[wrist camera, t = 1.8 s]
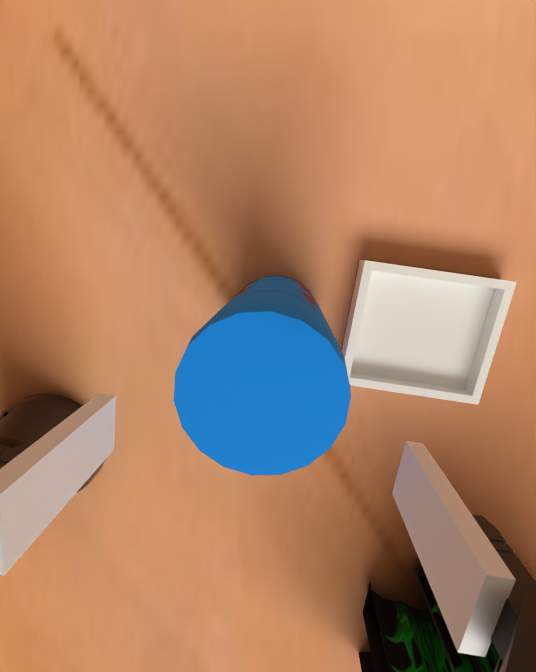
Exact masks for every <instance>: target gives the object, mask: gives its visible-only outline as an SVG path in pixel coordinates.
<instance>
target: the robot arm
mask: <svg viewBox="0 0 536 672" xmlns="http://www.w3.org/2000/svg"><path fill="white" fill-rule="evenodd" d="M115 417H116V395H110V394H104V393H99V394H97V395H96V396H95V397H94V398H92V399H91V400H90V401H88V402H87V403H86V404H84V405H83V406H80V405H79V404H77V403H76V402H74V401H72V400H70V399H67V398H65V397H62V396H58V395H52V394H39V395H34V396H30V397H27V398H25V399H23V400H21V401H20V402H18V403H16V404H14V405H13V406H11V407H10V408H8V409H7V410H6V411H5V412H3V413H2V415H1V416H0V575H5V574H6V573H7V572H8V571H9V570H10V568H11V567H12V566H13V565H14V564H15V563H16V562H17V560H18V559H19V558H20V557H21V556H22V555H23V553H24V552H25V551H26V550H27V549H28V548H29V547H30V545H31V544H32V543H33V542H34V541H35V540H36V539H37V537H38V536H39V535H40V534H41V533H42V532H43V531H44V529H45V528H46V527H47V526H48V525H49V524H50V522H51V521H52V520H53V519H54V518H55V517H56V516H57V514H58V513H59V512H60V511H61V510H62V509H63V508H64V506H65V505H66V504H67V503H68V502H69V501H70V499H71V498H72V497H73V496H74V495H75V494H76V493H77V492H79V491H80V490H82V489H83V488H84V487H85V486H87V485H88V484H89V483H90V482H91V480H92V479H93V478H94V477H95V476H96V475H97V473H98V472H99V471H100V469H101V467H102V465H103V463H104V460H105V459H106V458H107V457H108V456H109V455H110V454H111V452H112V451H113V450H114V447H115ZM392 494H393V497H394V499H395V502H396V504H397V507H398V509H399V511H400V514H401V516H402V519H403V521H404V523H405V526H406V528H407V531H408V533H409V536H410V538H411V540H412V543H413V545H414V548H415V550H416V553H417V555H418V557H419V560H420V562H421V565H422V567H423V569H424V572H425V574H426V577H427V579H428V582H429V584H430V586H431V589H432V591H433V594H434V596H435V599H436V601H437V603H438V606H439V608H440V611H441V613H442V615H443V618H444V620H445V623H446V625H447V628H448V630H449V632H450V635H451V637H452V640H453V642H454V645H455V647H456V649H457V652H458V653H464V654H470V655H476V656H482V657H485V656H486V654H487V651H488V649H489V646H490V644H491V641H492V642H493V644H494V646H495V648H496V650H497V652H498V654H499V656H500V658H499V660H498V663H497V665H496V668H495V670H494V672H536V582H535V581H534V579H533V578H532V577H531V575H530V574H529V573H528V571H527V570H526V568H525V567H524V566H523V564H522V563H521V562H520V560H519V559H518V557H517V556H516V555H514V554H513V551H512V549H511V548H510V547H509V545H508V544H506V541H505V540H504V538H503V537H502V536H501V534H500V533H499V532H498V530H497V529H496V528H495V527H494V526H493V525H492V524H491V523H489V522H488V521H487V520H486V519H485V518H484V517H482V516H478V515H472V514H471V513H470V511H469V510H468V508H467V507H466V505H465V504H464V503H463V501H462V500H461V498H460V497H459V495H458V494H457V492H456V491H455V489H454V488H453V486H452V485H451V483H450V482H449V480H448V479H447V477H446V476H445V474H444V473H443V472H442V470H441V469H440V467H439V466H438V464H437V463H436V461H435V460H434V458H433V457H432V455H431V454H430V452H429V451H428V449H427V448H426V446H425V445H424V443H419V442H412V441H406V443H405V446H404V450H403V454H402V458H401V461H400V465H399V469H398V473H397V476H396V480H395V484H394V488H393V492H392Z"/></svg>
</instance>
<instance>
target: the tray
mask: <svg viewBox="0 0 536 672" xmlns="http://www.w3.org/2000/svg"><path fill="white" fill-rule="evenodd" d="M516 283H517V282H513V281H507V280H500V279H493V278H486V277H479V276H472V275H465V274H458V273H451V272H444V271H437V270H430V269H423V268H416V267H409V266H402V265H395V264H388V263H381V262H374V261H368V260H361V259H360V261H359V266H358V271H357V276H356V281H355V286H354V291H353V296H352V301H351V306H350V311H349V316H348V321H347V326H346V331H345V336H344V341H343V346H342V353H343V355H344V358H345V363H346V368H347V373H348V379H349V384H350V385H352V386H358V387H365V388H371V389H378V390H385V391H391V392H398V393H404V394H411V395H418V396H424V397H431V398H438V399H444V400H451V401H457V402H464V403H471V404H477V405H478V404H479V401H480V398H481V395H482V391H483V388H484V385H485V382H486V379H487V376H488V372H489V369H490V366H491V363H492V360H493V356H494V353H495V350H496V347H497V344H498V340H499V337H500V334H501V331H502V328H503V324H504V321H505V318H506V315H507V312H508V308H509V305H510V302H511V299H512V296H513V292H514V289H515V286H516Z"/></svg>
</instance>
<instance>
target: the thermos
mask: <svg viewBox="0 0 536 672" xmlns="http://www.w3.org/2000/svg"><path fill="white" fill-rule="evenodd" d="M350 398H351V392H350V384H349V379H348V373H347V368H346V363H345V358H344V355H343V353H342V351H341V349H340V347H339V345H338V343H337V341H336V339H335V337H334V335H333V333H332V331H331V329H330V327H329V325H328V323H327V321H326V319H325V317H324V315H323V313H322V311H321V309H320V307H319V306H318V304H317V302H316V301H315V299H314V298H313V296H312V294H311V293H310V291H309V290H307V289H306V288H305V287H303V286H302V285H301V284H300V283H298V282H297V281H296V280H293V279H290V278H287V277H284V276H267V277H264V278H261V279H259V280H257V281H254V282H252V283H250V284H248V285H247V286H246V287H245V288H244V289H243V290H242V291H241V292H239V293H238V294H237V295H236V296H235V297H234V298H233V299H232V300H231V301H230V302H229V303H228V304H226V305H225V306H224V307H223V308H222V309H221V310H220V311H219V312H218V313H217V314H216V315H215V316H213V317H212V318H211V319H210V320H209V321H208V322H207V323H206V324H205V325H204V326H203V327H202V328H201V329H200V330H199V331H198V332H197V333H196V334H195V335H194V336H193V337H192V339H191V341H190V343H189V345H188V347H187V349H186V351H185V353H184V355H183V357H182V360H181V362H180V364H179V366H178V368H177V370H176V373H175V391H174V403H175V406H176V409H177V412H178V415H179V418H180V421H181V425H182V428H183V429H184V430H185V432H186V433H187V434H188V436H189V437H190V438H191V440H192V441H193V442H194V443H195V445H196V446H197V447H198V449H199V450H200V451H201V452H203V453H204V454H206V455H207V456H209V457H210V458H212V459H213V460H215V461H216V462H217V463H219V464H220V465H222V466H223V467H226V468H230V469H233V470H236V471H240V472H243V473H246V474H250V475H281V474H284V473H287V472H290V471H293V470H296V469H299V468H302V467H304V466H307V465H309V464H310V463H312V462H313V461H314V460H315V459H317V458H318V457H319V456H321V455H322V454H323V453H324V452H326V451H327V450H328V449H330V448H331V446H332V445H333V443H334V441H335V440H336V438H337V437H338V435H339V433H340V432H341V430H342V429H343V427H344V425H345V424H346V418H347V413H348V408H349V403H350Z"/></svg>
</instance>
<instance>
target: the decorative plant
mask: <svg viewBox="0 0 536 672" xmlns="http://www.w3.org/2000/svg"><path fill="white" fill-rule="evenodd" d="M420 567H421V562H420V564H419V565H418V566H417V568H416V569H415V570H414V573H415V575H416V578H417V580H418V583H419V586H420V588H421V591H422V593H423V596H424V599H425V601H426V604H427V606H428V609H429V611H422V610H416V609H415V608H413V607H411V606H410V605H408V604H407V603H405V602H403V601H402V600H399V601H393V600H388V599H384V598H383V597H381V596H380V595H378V594H377V593H376V592H374V591H373V590H372V589H371V584H370V583H369V588H368V592H367V596H366V600H365V605H364V609H363V616H364V621H365V626H366V631H367V636H368V641H369V646H370V651H368V652H363V653H359V658H360V664H361V669H362V672H494V670H495V668H496V665H497V663H498V660H499V658H500V656H499V654H498V652H497V650H496V648H495V646H494V644H493V642H492V641H491V644H490V646H489V649H488V651H487V654H486V656H485V657H482V656H476V655H470V654H464V653H458V652H457V649H456V647H455V645H454V642H453V640H452V637H451V635H450V632H449V630H448V628H447V625H446V623H445V620H444V618H443V615H442V613H441V611H440V608H439V606H438V603H437V601H436V599H435V596H434V594H433V591H432V589H431V586H430V584H429V582H428V579H427V578H426V577H424V576H422V575H420V574H418V573H417V572H418V570H419V568H420Z"/></svg>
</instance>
